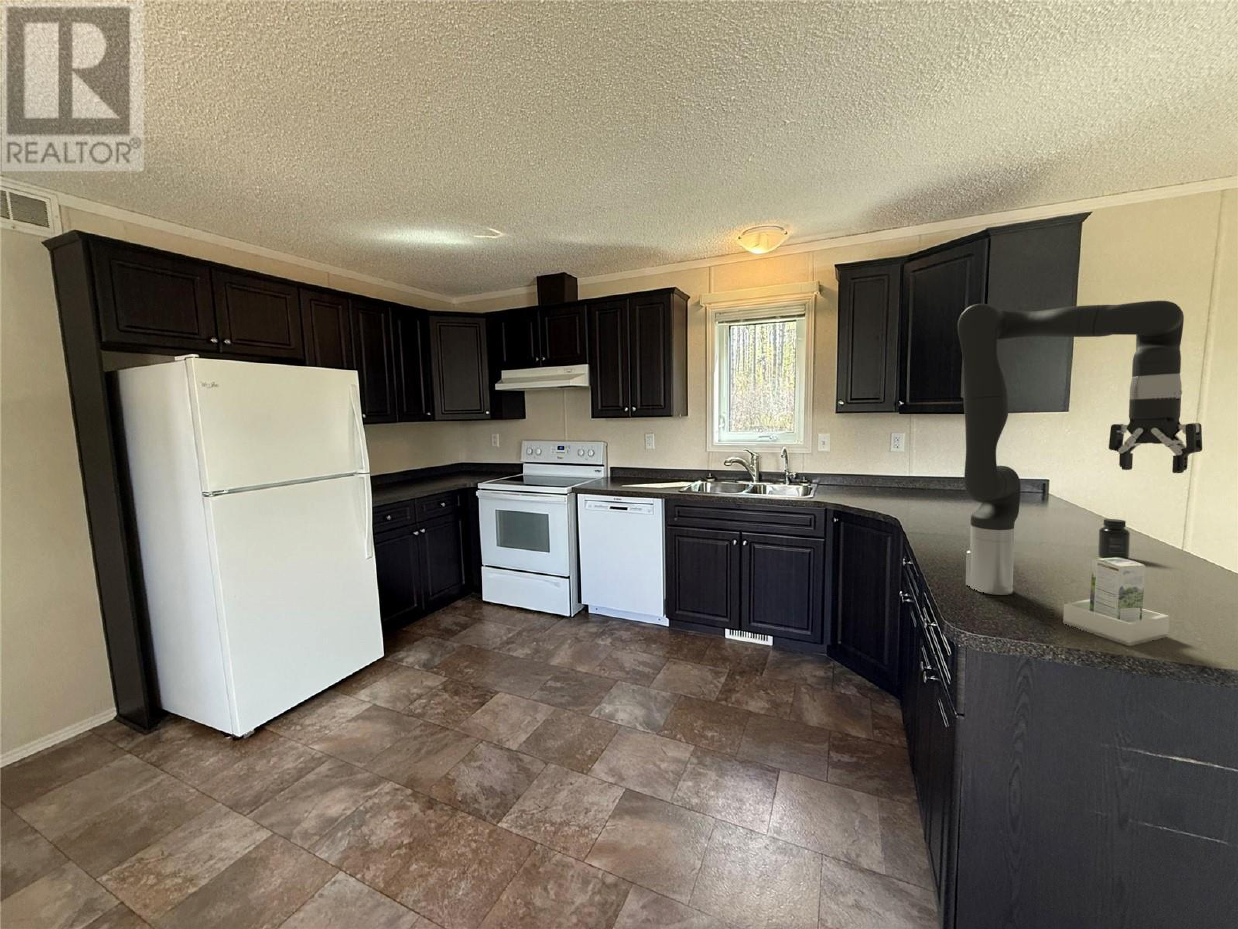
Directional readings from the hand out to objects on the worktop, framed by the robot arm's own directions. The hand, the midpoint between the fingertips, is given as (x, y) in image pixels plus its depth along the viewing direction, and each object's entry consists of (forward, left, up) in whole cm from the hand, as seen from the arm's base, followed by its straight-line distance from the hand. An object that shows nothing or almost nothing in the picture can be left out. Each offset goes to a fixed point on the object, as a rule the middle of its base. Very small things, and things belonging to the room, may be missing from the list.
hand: (1151, 471), depth 106 cm
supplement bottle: (-31, +47, -34) cm, 66 cm away
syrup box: (+2, -13, -33) cm, 35 cm away
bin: (+2, -13, -33) cm, 36 cm away
